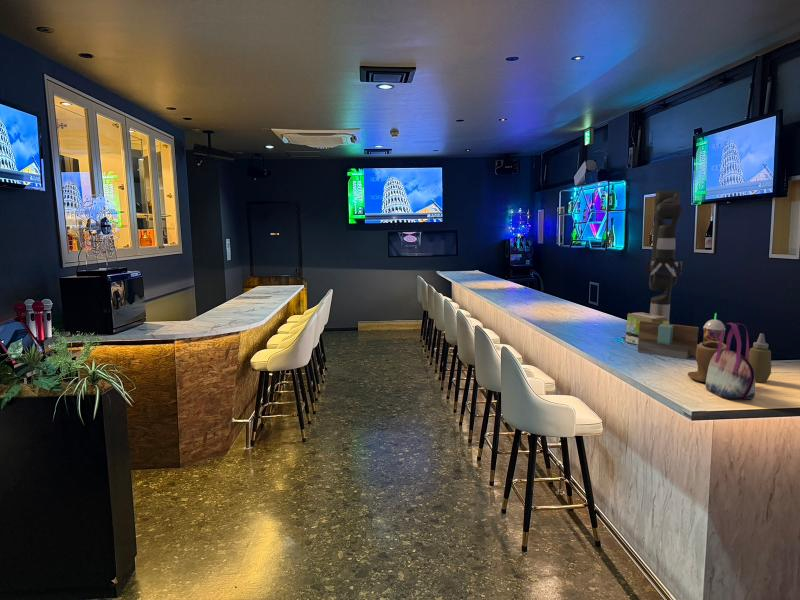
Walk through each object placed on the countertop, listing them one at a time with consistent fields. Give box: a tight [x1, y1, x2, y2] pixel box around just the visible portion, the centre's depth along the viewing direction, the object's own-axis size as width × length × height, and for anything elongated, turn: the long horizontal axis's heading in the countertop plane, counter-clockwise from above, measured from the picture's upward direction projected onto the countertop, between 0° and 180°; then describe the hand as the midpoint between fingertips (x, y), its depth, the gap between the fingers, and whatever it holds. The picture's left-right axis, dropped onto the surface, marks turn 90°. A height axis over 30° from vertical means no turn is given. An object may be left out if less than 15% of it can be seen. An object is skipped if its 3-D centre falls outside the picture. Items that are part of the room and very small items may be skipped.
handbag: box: [705, 322, 756, 400], centre depth 179 cm, size 21×10×25 cm, turn 2°
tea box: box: [625, 311, 667, 346], centre depth 255 cm, size 15×10×15 cm, turn 25°
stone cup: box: [687, 341, 726, 383], centre depth 194 cm, size 15×12×15 cm
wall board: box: [637, 321, 699, 360], centre depth 237 cm, size 10×24×13 cm, turn 51°
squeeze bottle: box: [749, 333, 772, 383], centre depth 195 cm, size 8×8×18 cm
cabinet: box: [657, 321, 674, 345], centre depth 236 cm, size 6×5×12 cm
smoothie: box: [702, 312, 726, 343], centre depth 229 cm, size 8×8×20 cm
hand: (662, 283), depth 239 cm, fingers open, 8 cm apart
